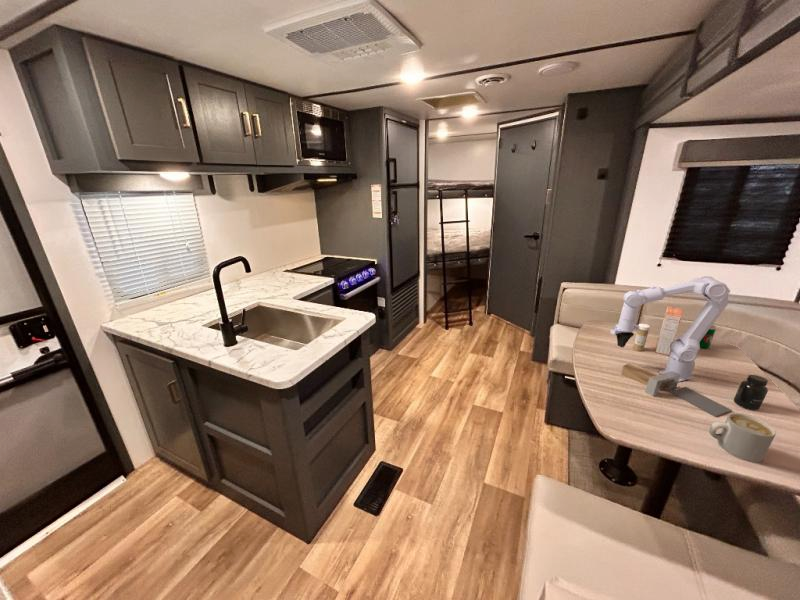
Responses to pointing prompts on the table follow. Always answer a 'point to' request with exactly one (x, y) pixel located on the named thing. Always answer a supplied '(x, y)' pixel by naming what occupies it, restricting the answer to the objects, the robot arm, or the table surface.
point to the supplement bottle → (751, 392)
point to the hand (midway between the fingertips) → (620, 346)
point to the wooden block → (638, 374)
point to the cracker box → (668, 330)
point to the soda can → (707, 338)
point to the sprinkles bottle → (641, 337)
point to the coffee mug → (744, 436)
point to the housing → (655, 382)
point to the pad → (701, 401)
